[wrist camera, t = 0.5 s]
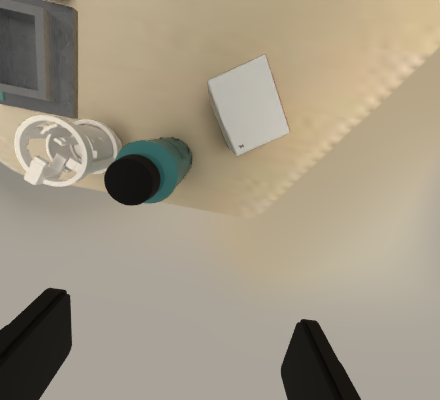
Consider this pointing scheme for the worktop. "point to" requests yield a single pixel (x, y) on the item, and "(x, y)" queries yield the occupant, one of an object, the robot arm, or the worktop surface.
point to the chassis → (38, 56)
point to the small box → (248, 106)
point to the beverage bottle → (147, 170)
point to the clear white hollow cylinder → (66, 149)
